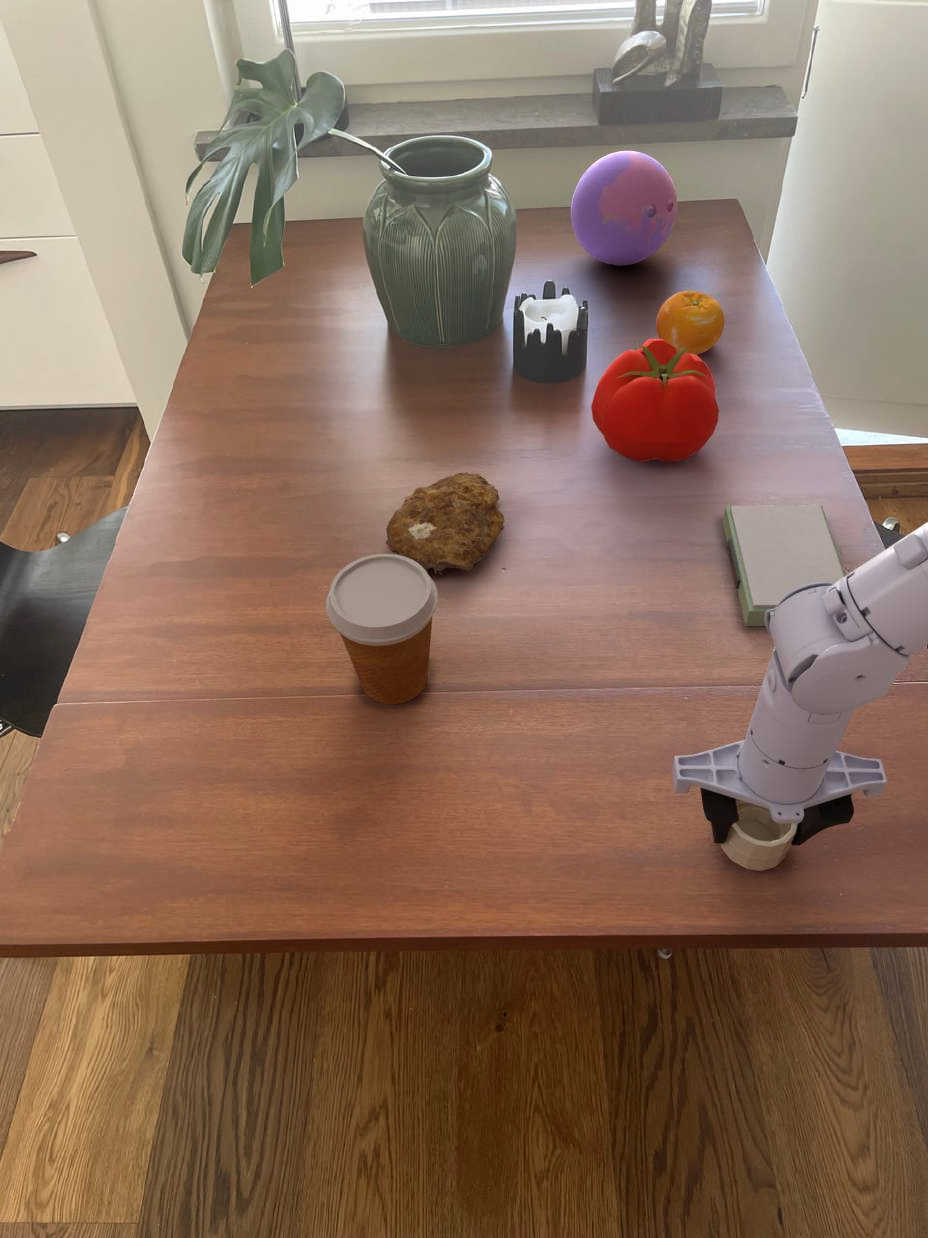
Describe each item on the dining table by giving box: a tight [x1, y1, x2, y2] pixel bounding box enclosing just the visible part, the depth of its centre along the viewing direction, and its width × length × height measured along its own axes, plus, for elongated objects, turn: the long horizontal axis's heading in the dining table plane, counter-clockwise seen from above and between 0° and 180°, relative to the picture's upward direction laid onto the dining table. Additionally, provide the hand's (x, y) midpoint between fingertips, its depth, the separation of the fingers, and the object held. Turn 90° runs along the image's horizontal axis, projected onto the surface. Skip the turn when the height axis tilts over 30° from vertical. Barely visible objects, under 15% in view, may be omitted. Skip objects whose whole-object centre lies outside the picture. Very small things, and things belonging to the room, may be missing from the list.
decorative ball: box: [570, 150, 678, 266], centre depth 132 cm, size 15×15×15 cm
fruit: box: [655, 290, 725, 355], centre depth 119 cm, size 8×9×8 cm
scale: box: [721, 504, 846, 627], centre depth 92 cm, size 15×10×3 cm
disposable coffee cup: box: [325, 553, 439, 705], centre depth 82 cm, size 10×10×12 cm
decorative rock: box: [385, 472, 506, 576], centre depth 98 cm, size 11×4×15 cm
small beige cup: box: [720, 799, 798, 871], centre depth 72 cm, size 5×5×4 cm
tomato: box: [590, 338, 720, 463], centre depth 103 cm, size 13×14×12 cm
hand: (754, 833), depth 72 cm, fingers closed on small beige cup, 5 cm apart
